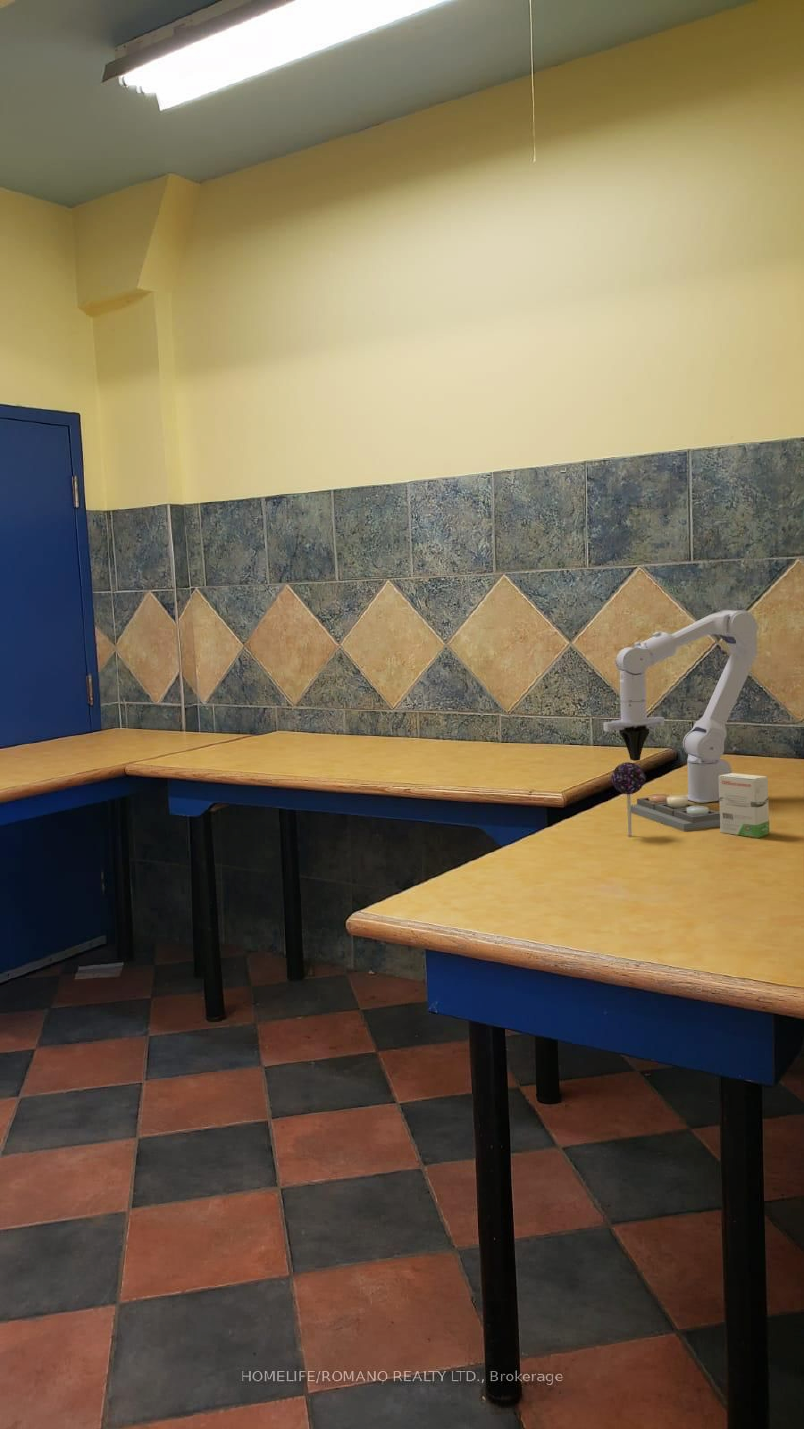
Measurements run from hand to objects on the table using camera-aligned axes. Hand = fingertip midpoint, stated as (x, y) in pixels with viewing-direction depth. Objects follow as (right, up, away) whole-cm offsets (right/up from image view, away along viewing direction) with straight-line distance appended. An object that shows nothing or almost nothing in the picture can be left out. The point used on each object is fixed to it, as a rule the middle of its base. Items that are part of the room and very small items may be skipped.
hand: (635, 760), depth 246 cm
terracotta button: (+4, -9, -7) cm, 12 cm away
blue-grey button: (+8, -11, -22) cm, 26 cm away
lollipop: (-7, -14, -27) cm, 32 cm away
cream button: (+6, -9, -15) cm, 18 cm away
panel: (+6, -12, -14) cm, 20 cm away
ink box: (+15, -14, -31) cm, 37 cm away
